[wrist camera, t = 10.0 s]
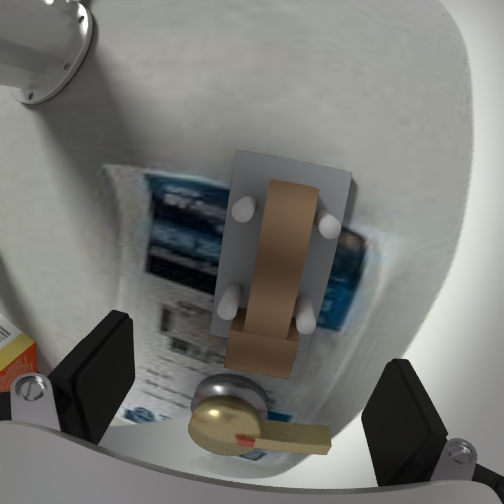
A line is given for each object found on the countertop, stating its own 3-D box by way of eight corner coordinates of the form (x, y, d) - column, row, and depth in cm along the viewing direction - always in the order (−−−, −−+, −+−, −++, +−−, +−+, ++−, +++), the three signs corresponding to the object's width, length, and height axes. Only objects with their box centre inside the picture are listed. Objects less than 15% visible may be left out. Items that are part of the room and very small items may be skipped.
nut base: (197, 366, 30) (193, 378, 28) (275, 381, 29) (274, 394, 27) (191, 437, 33) (188, 448, 31) (254, 449, 33) (253, 461, 31)
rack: (238, 151, 24) (227, 146, 19) (349, 172, 23) (366, 173, 18) (212, 328, 28) (199, 359, 23) (306, 345, 28) (310, 379, 23)
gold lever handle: (192, 430, 29) (185, 450, 26) (196, 386, 27) (188, 407, 24) (317, 449, 29) (318, 470, 26) (337, 409, 27) (341, 431, 24)
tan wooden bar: (258, 175, 23) (254, 177, 19) (325, 188, 23) (334, 192, 19) (231, 341, 27) (223, 367, 23) (288, 351, 27) (288, 378, 23)
